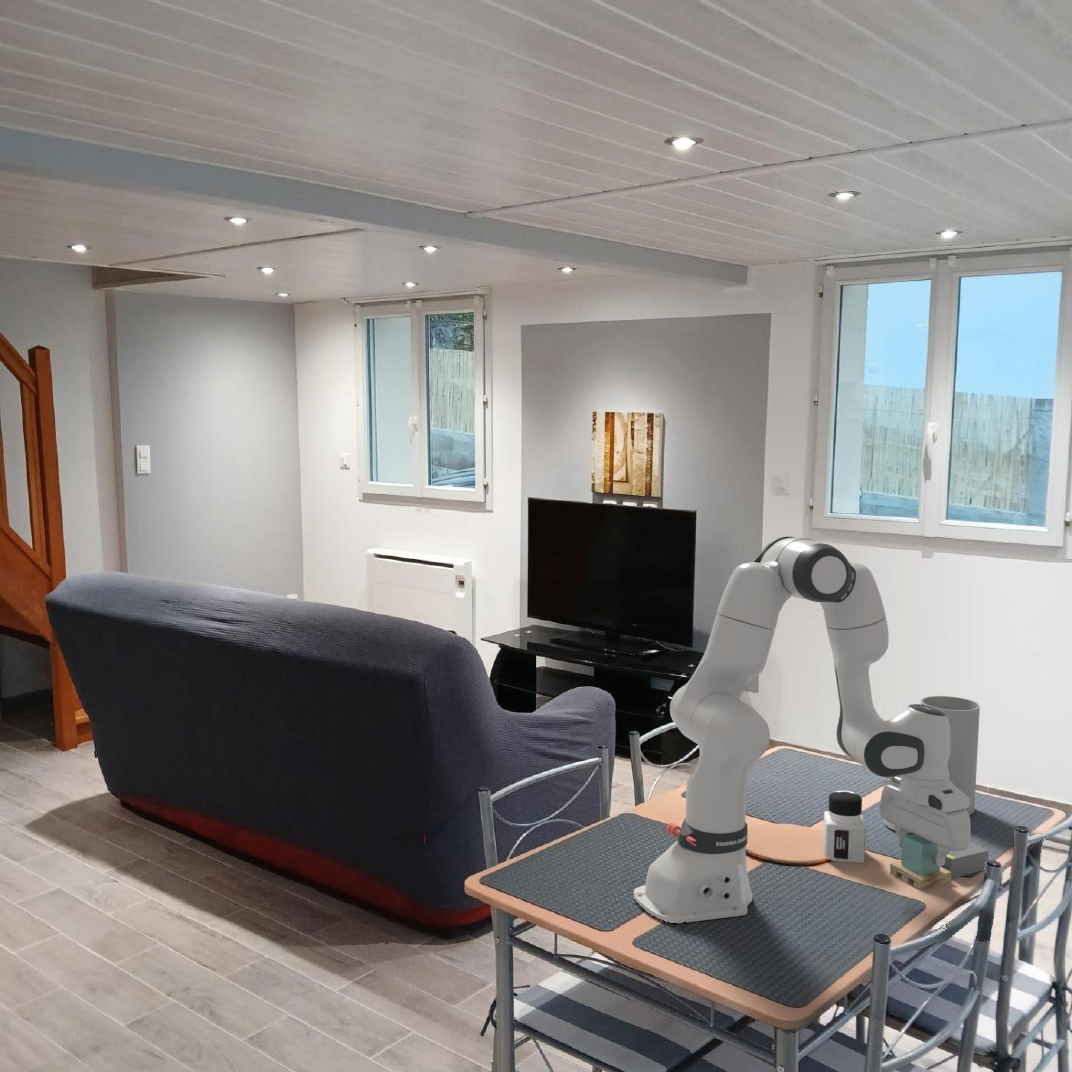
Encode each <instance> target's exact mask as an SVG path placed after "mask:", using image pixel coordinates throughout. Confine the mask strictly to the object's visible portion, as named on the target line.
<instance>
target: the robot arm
mask: <svg viewBox="0 0 1072 1072" xmlns="http://www.w3.org/2000/svg"><path fill="white" fill-rule="evenodd" d="M791 597H794V598H796V599H800V600H801V599H802V600H808V601H810V602H815V603H819V604H820V606H821V608H822V610H823V615H824V621H825V626H826V628H825V629H826V632H827V636H828V639H829V645H830V648H831V653H832V658H833V663H834V664H833V665H834V672H835V680H836V687H837V694H838V701H839V717H838V722H837V728H836V740H837V744H838V746H839V747H840V749H841V750H842V752H843V753H844V754H845V755H846V756H849V757H850V758H852V759H853V760H855V761H856V762H858V763H859V764H860V765H861V766H863V767H865V769H867V770H868V771H869V772H870V773H872V774H874V775H877V776H878V777H882V778H884V779H883V789H882V791H881V796H880V802H879V814H880V817H881V818H882V820H884V819H885V820H887V821H889V822H891V823H893V824H895V830H894V831H895V833H896V837H897V838H898V847H899V848H901V849H902V841H903V836H905V835H908V833H906V830H908V831H910V832H912V833H911V834H914V833H915V834H917V835H919V836H921V837H923V838H925V839H927V840H929V841H932V842H934V843H936V844H937V849H938V850H939V852H938V854H937V855H933V864H935V865H937V866H939V867H940V866H943V865H944V864H945V857H946V856H947V854H948V853H949V851H950V850H951V851H953V852H957V851H961V850H965V849H966V848H967V847H968V846H969V844H970V842H971V831H972V830H971V817H970V816H971V815H969V814H968V812H967V810H966V808H969V807H970V799H969V797H968V796H967V795H965V794H964V793H963V792H962V791H960V790H959V789H958V788H957V787H956V786H955V785H954V784H953V783H952V782H951V781H949V771H948V766H947V763H948V759H949V756H950V726H949V721H948V718H947V716H946V715H945V714H944V713H942V712H941V711H939V710H937V709H935V708H932V707H930V706H926V705H921V703H920V704H919V703H914V704H909V705H907V706H906V708H905V709H904V710H903V711H901V712H900V713H898V714H897V715H895V716H894V717H891V718H890V719H887V720H884V719H883V718H882V716H880V714H879V713H878V712H877V710H876V708H875V706H874V703H873V697H872V689H871V688H872V687H871V682H870V681H871V680H870V675H869V674H870V673H869V671H870V667H871V665H872V664H875V663H876V662H878V661H880V660H881V659H882V657H884V655H885V654H886V652H887V650H888V648H889V636H890V635H889V625H888V620H887V615H886V612H885V606H884V603H883V600H882V596H881V594H880V590H879V587H878V585H877V582H876V581H875V578H874V575H873V573H872V571H871V569H869V568H868V567H867V565H864V564H861V563H858V562H852V561H851V562H850V561H849V560H848V559H847V557H846V556H845V555H844V554H843V553H842V551H840V550H839V549H837V548H836V547H834V546H832V545H831V544H828V543H822V542H818V541H816V540H814V539H811V538H807V537H795V536H782V537H779V538H778V537H777V538H776V539H774V540H772V541H771V542H769V543H767V545H766V546H765V547H764V548H763V549H762V550H761V552H760V554H759V555H758V556H757V558H755V560H754V561H749V562H745V563H744V562H743V563H741V564H739V565H738V566H737V567H736V568H734V570H733V572H732V574H731V575H730V578H728V582H727V584H726V586H725V588H724V591H723V593H722V596H721V598H720V602H719V603H718V607H717V611H716V614H715V617H714V622H713V626H712V628H711V631H710V636H709V639H708V641H707V646H706V648H705V651H704V654H703V655H702V658H701V660H700V662H699V663H698V666H697V667H696V669H695V670H694V672H693V674H692V676H691V678H689V680H688V682H686V683H685V684H684V685H682V686H681V687H680V688H678V689H677V691H676V692H675V693H674V694H673V696H672V697H671V701H670V703H669V713H670V717H671V719H672V722H673V723H674V725H675V726H676V727H677V729H678V730H679V731H680V732H681V735H683V736H684V737H686V738H687V739H689V740H690V741H692V742H693V743H695V744H697V746H698V749H699V757H698V761H697V764H696V768H695V771H694V772H693V773H691V774H690V775H689V776H688V778H687V780H686V787H685V788H686V790H685V792H686V793H685V818H684V819H683V822H682V823H681V826H678V825H677V824H676V823H673V822H670V823H668V825H667V826H666V827H667V828H666V831H667V833H669V834H671V835H672V836H673V837H677V839H676V841H674V843H673V844H672V845H670V846H669V847H668V849H667V850H665V851H664V852H663V853H662V854H661V855H660V856H659V857H657V858H656V859H655V860H654V861H653V862H652V863H651V864H650V865H649V868H648V870H647V872H646V873H647V875H646V877H645V878H646V879H645V884H644V885H641V886H638V887H636V888H634V890H633V894H634V895H633V894H632V897H633V896H634V897H633V900H634V899H635V900H636V902H637V903H639V905H640V906H642V907H643V908H644V909H645V910H646V911H647V912H649V913H650V914H651V915H650V914H649V915H650V916H652V915H653V916H655V917H657V918H658V919H657V918H656V919H657V920H659V919H661V920H660V921H662V920H664V921H665V923H667V922H670V923H669V924H671V923H677V924H684V923H683V922H686V923H692V922H693V923H694V922H700V921H701V922H702V921H708V920H717V919H723V918H724V919H725V918H731V917H733V918H734V917H740V916H742V917H743V916H746V915H747V914H748V910H749V909H748V906H749V905H750V904H751V902H752V901H753V897H754V896H753V892H752V890H751V886H750V880H749V875H748V874H749V873H748V866H747V856H746V855H747V853H746V848H747V845H748V836H749V835H748V834H749V833H748V831H749V829H748V828H749V827H748V823H747V822H746V817H747V815H746V813H747V812H746V811H747V810H746V809H747V791H748V790H747V789H748V783H749V778H750V775H751V772H752V768H753V767H754V764H755V762H756V761H758V760H759V759H760V758H762V756H764V754H765V753H766V751H767V749H768V747H769V744H770V740H771V732H770V727H769V725H768V722H767V721H766V719H764V718H763V716H762V715H761V714H760V713H759V712H758V711H757V710H756V709H755V708H754V707H753V706H751V705H750V704H748V703H747V702H745V701H742V700H741V699H742V698H741V697H742V695H743V693H744V691H745V689H746V688H747V686H748V685H749V683H750V682H751V681H752V680H753V678H755V677H756V676H758V675H760V674H761V673H762V672H763V671H764V669H765V667H766V665H767V660H768V657H769V653H770V649H771V645H772V644H773V643H772V642H773V638H774V635H775V633H776V629H777V624H778V620H779V615H780V612H781V611H782V608H783V606H784V605H785V603H786V602H787V601H788V600H789V599H790V598H791ZM900 775H901V778H899V777H897V776H900ZM885 777H886V778H885ZM635 900H634V901H635ZM636 902H635V903H636ZM637 903H636V904H637ZM639 905H638V906H639ZM640 906H639V907H640ZM646 911H645V912H646ZM647 912H646V913H647ZM653 916H652V917H653ZM655 917H654V918H655ZM664 921H663V922H664Z"/></svg>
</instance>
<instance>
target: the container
mask: <svg viewBox="0 0 1072 1072" xmlns="http://www.w3.org/2000/svg"><path fill="white" fill-rule="evenodd" d="M862 798H863V797H861V795H859V794H858V793H856V792H853V791H850V790H835V791H833V792H831V793H829V795H828V811H827V810H825V811H824V813H823V830H822V831H823V833H822V834H823V839H822V845H823V844H824V848H823V851H824V850H825V854H824V857H825V856H826V857H830V859H831V862H844V863H852V864H853V863H856V864H864V863H865V861H866V839H867V836H866V835H867V834H866V833H867V828H866V824H865V819H864V815H863V813H862V812H863V799H862Z"/></svg>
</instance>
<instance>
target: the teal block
mask: <svg viewBox="0 0 1072 1072" xmlns="http://www.w3.org/2000/svg"><path fill="white" fill-rule="evenodd" d="M938 852H939V850H938V849H937V844H936V843H934V842H932V841H929V840H927V839H925V838H923V837H921V836H919V835H917V834H915V833H909V834H907V835H905V836H903V841H902V848H901V861H902V864H901V865H902V866H904V867H906V868H908V869H909V870H911V871H913V872H915V873H917V874H919V875H924V874H928V873H932V872H936V871H940V867H939V866H937V865H935V864H933V855H937V854H938Z"/></svg>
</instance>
